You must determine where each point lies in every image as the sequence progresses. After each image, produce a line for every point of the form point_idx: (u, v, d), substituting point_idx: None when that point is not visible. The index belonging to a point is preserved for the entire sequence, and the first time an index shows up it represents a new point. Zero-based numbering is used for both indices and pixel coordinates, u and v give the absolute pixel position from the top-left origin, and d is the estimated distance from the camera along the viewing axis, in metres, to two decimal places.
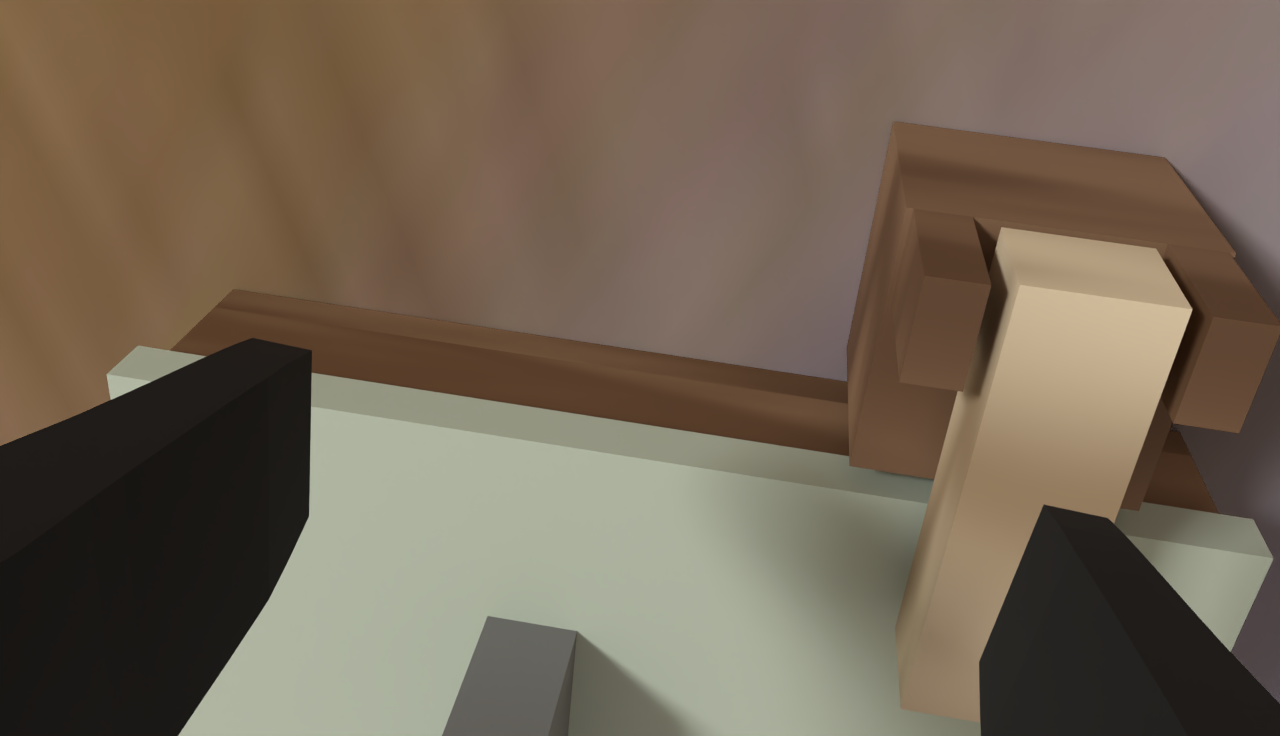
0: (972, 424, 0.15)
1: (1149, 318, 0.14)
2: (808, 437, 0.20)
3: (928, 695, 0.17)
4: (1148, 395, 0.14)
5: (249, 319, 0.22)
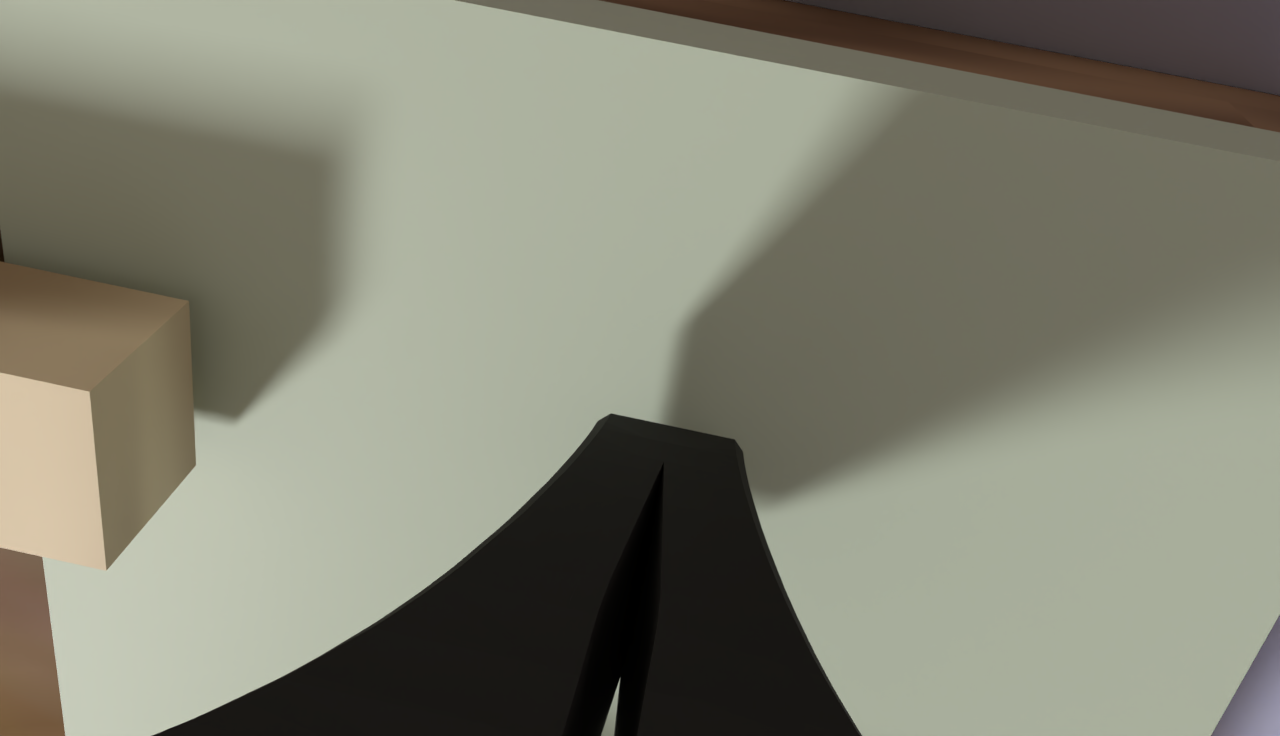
0: None
1: None
2: None
3: (67, 535, 0.11)
4: None
5: None
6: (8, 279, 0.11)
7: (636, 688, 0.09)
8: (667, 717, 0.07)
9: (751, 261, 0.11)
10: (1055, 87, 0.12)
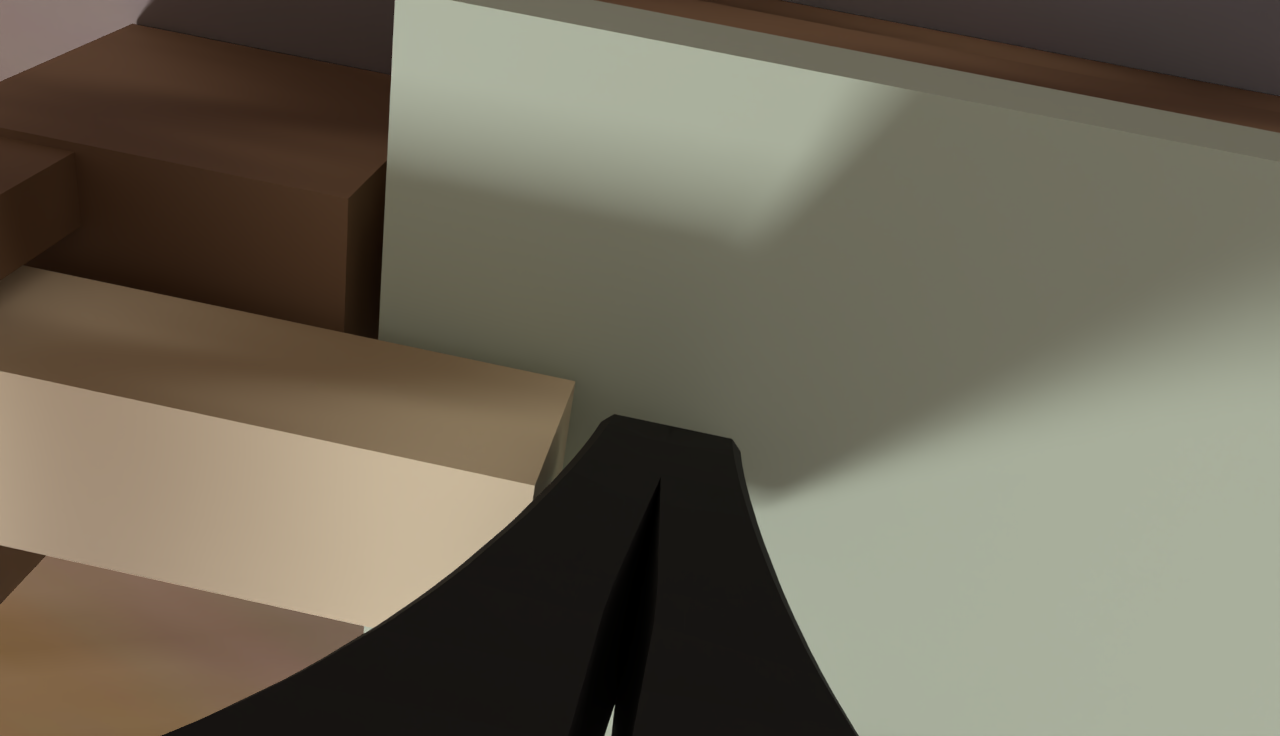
0: None
1: None
2: None
3: None
4: None
5: None
6: (398, 360, 0.11)
7: (633, 687, 0.09)
8: (663, 716, 0.07)
9: (1176, 347, 0.11)
10: None
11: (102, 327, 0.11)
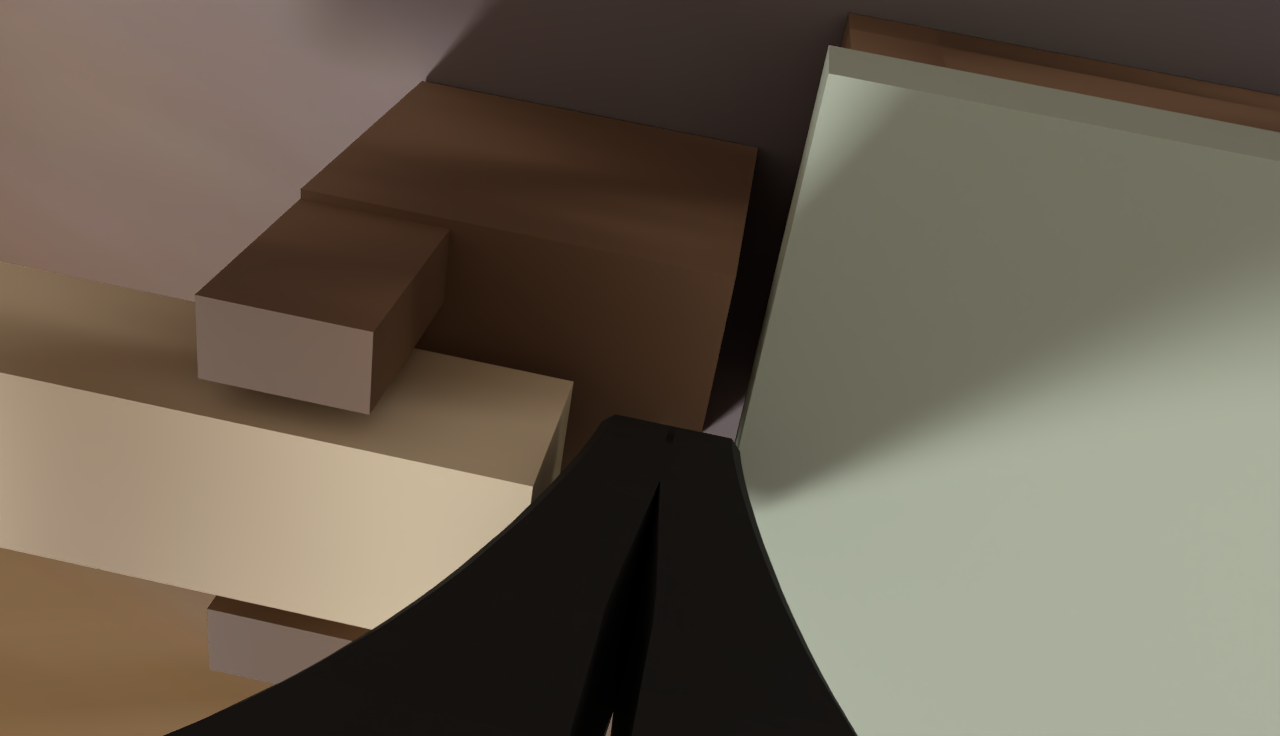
0: None
1: None
2: None
3: None
4: None
5: None
6: None
7: (633, 687, 0.09)
8: (662, 716, 0.07)
9: None
10: None
11: (98, 327, 0.11)
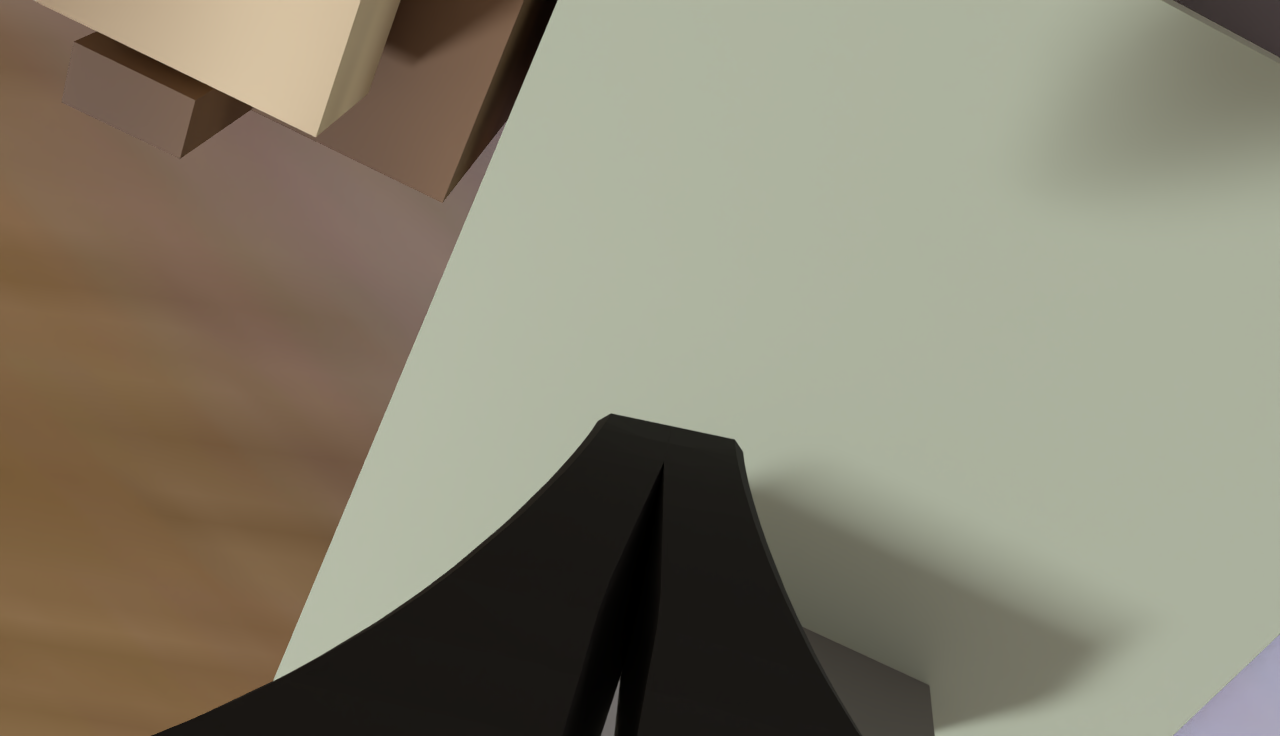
0: None
1: None
2: None
3: (295, 98, 0.13)
4: None
5: None
6: None
7: (636, 688, 0.09)
8: (667, 717, 0.07)
9: (1143, 177, 0.15)
10: None
11: None
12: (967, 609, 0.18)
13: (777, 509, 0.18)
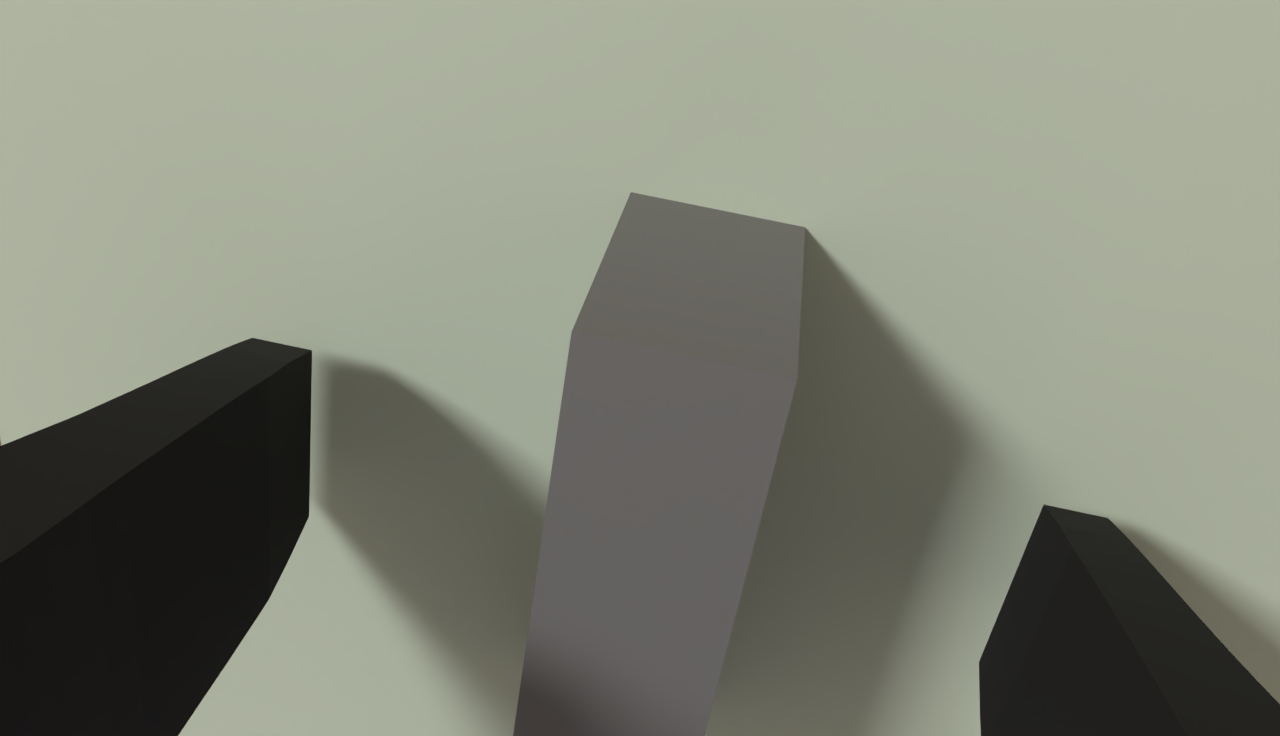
0: None
1: None
2: None
3: None
4: None
5: None
6: None
7: None
8: None
9: None
10: None
11: None
12: (837, 714, 0.13)
13: (939, 470, 0.12)
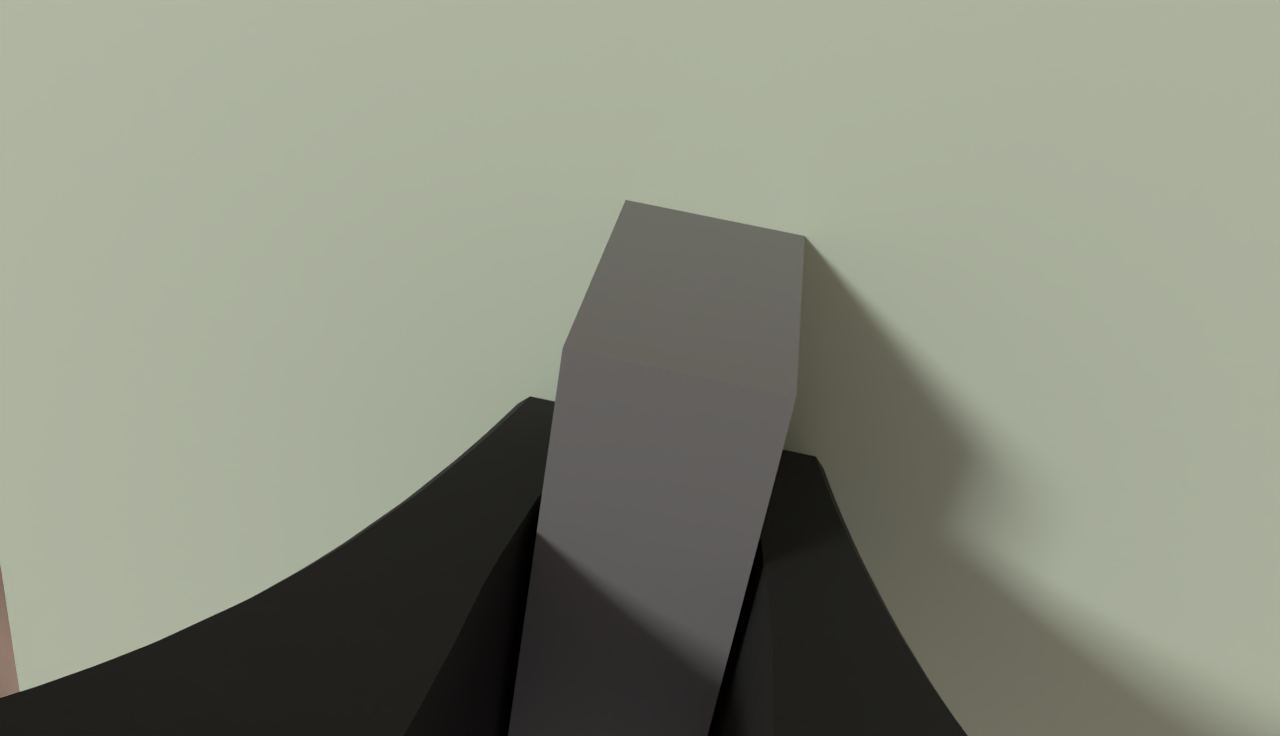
0: None
1: None
2: None
3: None
4: None
5: None
6: None
7: (736, 710, 0.09)
8: None
9: None
10: None
11: None
12: None
13: (942, 484, 0.11)
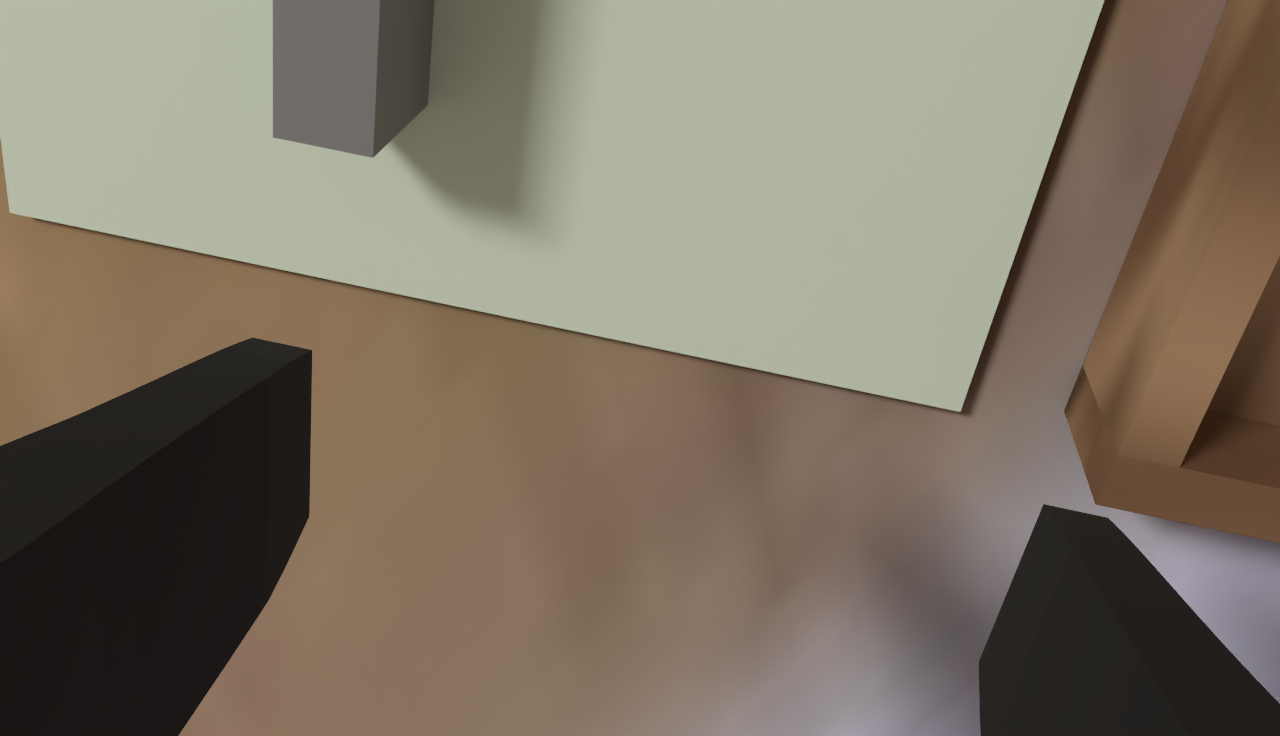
0: None
1: None
2: None
3: None
4: None
5: None
6: None
7: None
8: None
9: (955, 74, 0.19)
10: None
11: None
12: (522, 105, 0.20)
13: None
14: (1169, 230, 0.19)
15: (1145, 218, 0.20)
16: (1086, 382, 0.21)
